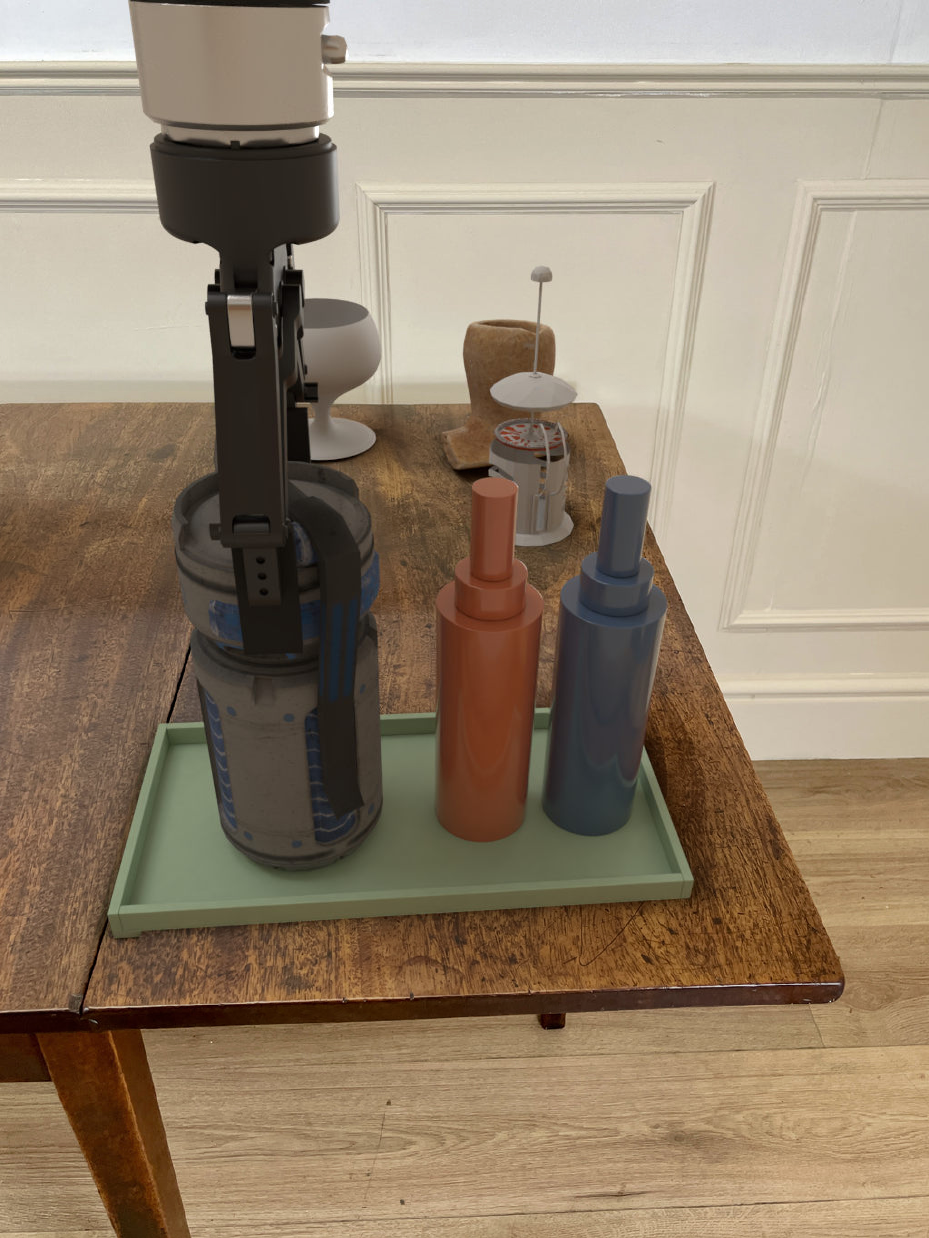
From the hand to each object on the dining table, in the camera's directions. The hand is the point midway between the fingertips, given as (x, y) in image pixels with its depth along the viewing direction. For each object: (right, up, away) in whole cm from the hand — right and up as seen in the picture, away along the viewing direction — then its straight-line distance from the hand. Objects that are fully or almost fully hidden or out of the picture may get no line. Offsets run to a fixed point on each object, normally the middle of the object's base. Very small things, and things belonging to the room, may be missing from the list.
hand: (283, 575), depth 50 cm
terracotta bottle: (+11, -15, +11) cm, 21 cm away
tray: (+6, -15, +11) cm, 20 cm away
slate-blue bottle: (+18, -14, +12) cm, 26 cm away
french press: (+16, +7, +44) cm, 48 cm away
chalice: (-7, +18, +61) cm, 64 cm away
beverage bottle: (0, -16, +9) cm, 18 cm away
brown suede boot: (+13, +17, +59) cm, 63 cm away
